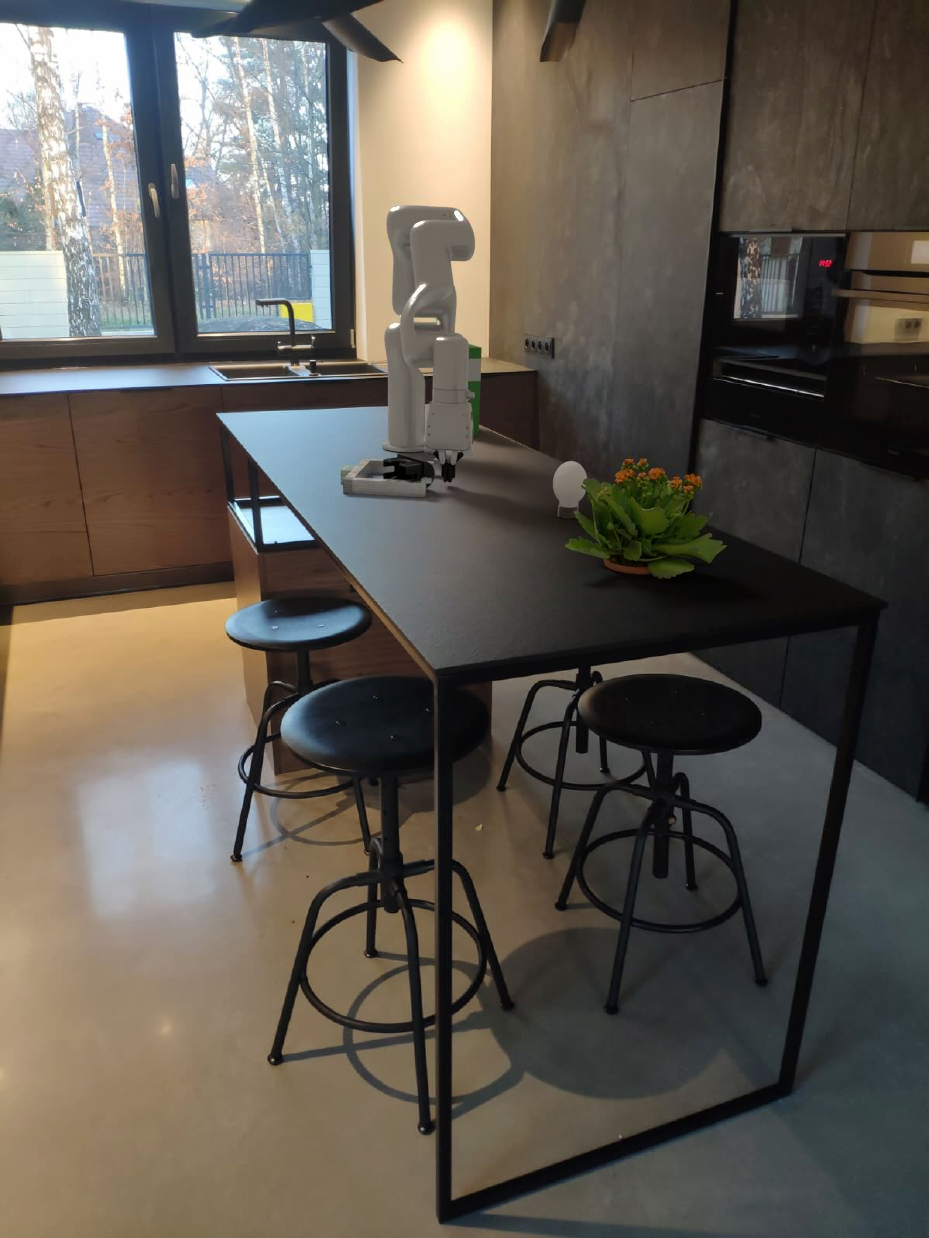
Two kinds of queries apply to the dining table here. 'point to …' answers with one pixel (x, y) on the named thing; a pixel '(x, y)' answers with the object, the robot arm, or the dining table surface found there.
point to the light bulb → (569, 488)
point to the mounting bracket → (381, 480)
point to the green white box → (474, 383)
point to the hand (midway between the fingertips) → (448, 481)
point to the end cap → (408, 469)
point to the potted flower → (644, 523)
